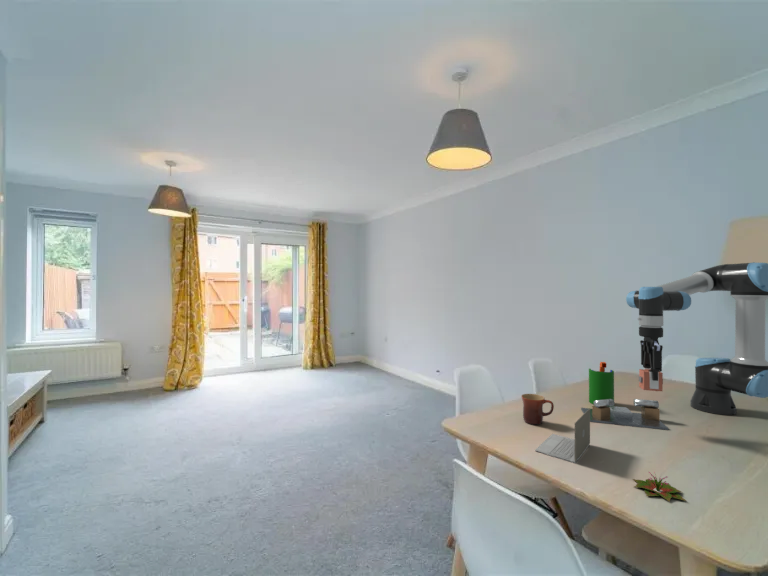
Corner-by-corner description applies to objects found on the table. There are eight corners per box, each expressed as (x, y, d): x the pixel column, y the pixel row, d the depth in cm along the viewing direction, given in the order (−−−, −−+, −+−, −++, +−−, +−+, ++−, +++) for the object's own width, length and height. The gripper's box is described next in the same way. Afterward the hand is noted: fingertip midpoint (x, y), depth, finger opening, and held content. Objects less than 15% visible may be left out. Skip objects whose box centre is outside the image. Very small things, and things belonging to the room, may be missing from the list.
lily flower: (642, 501, 92) (642, 483, 92) (623, 477, 103) (623, 461, 103) (697, 508, 89) (697, 490, 89) (672, 483, 100) (672, 467, 100)
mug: (520, 424, 142) (520, 398, 142) (522, 416, 150) (522, 392, 150) (553, 429, 137) (553, 402, 137) (553, 421, 145) (553, 396, 145)
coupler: (659, 388, 138) (659, 370, 138) (664, 391, 134) (664, 373, 134) (637, 386, 140) (637, 369, 140) (642, 389, 136) (642, 371, 136)
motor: (608, 400, 171) (608, 359, 171) (618, 407, 162) (618, 363, 162) (586, 400, 172) (586, 359, 172) (595, 406, 163) (595, 363, 163)
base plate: (652, 416, 150) (652, 397, 150) (668, 429, 136) (668, 408, 136) (581, 409, 159) (581, 391, 159) (588, 421, 145) (588, 401, 145)
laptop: (552, 435, 132) (552, 400, 132) (590, 445, 124) (590, 408, 124) (534, 452, 119) (534, 413, 119) (575, 464, 110) (576, 423, 110)
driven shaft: (607, 414, 150) (607, 397, 150) (615, 418, 147) (615, 400, 147) (592, 416, 148) (592, 399, 148) (600, 420, 144) (600, 402, 144)
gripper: (630, 323, 147) (631, 380, 147) (649, 328, 130) (649, 392, 130) (652, 324, 144) (652, 381, 144) (673, 329, 128) (673, 394, 128)
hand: (651, 386), depth 137 cm, fingers closed on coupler, 4 cm apart
